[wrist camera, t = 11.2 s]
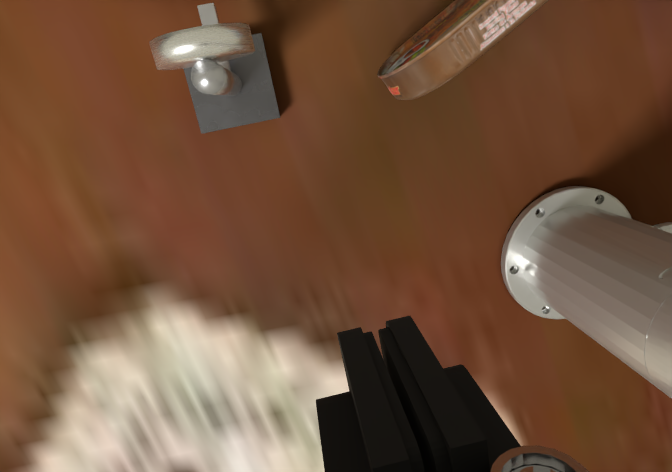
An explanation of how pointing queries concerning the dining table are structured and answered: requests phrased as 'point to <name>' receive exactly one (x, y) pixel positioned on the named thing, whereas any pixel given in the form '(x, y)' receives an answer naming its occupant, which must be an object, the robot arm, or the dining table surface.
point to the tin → (451, 44)
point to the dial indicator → (220, 71)
